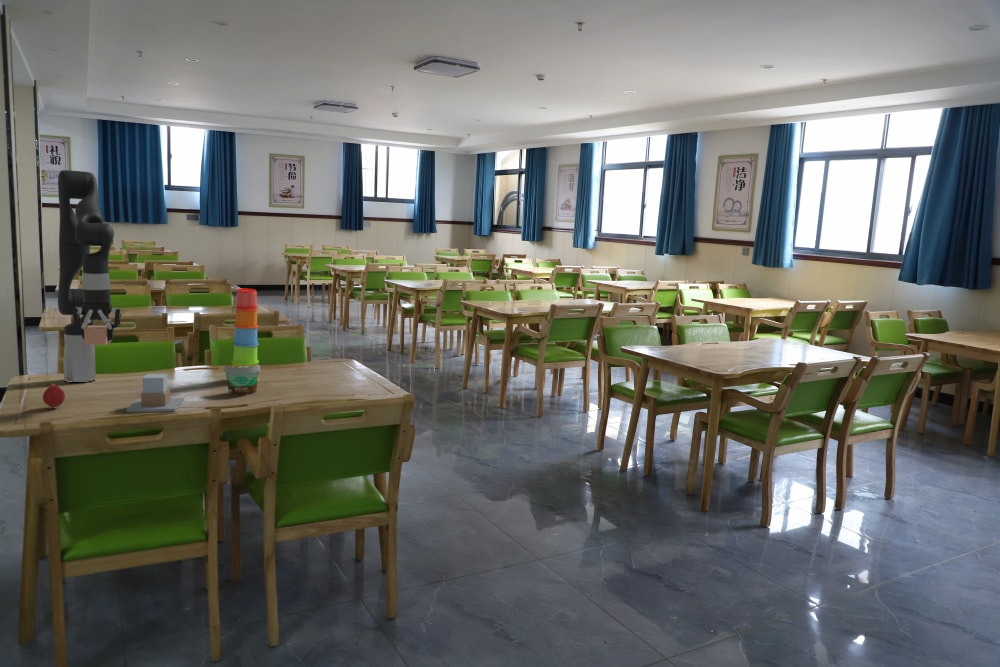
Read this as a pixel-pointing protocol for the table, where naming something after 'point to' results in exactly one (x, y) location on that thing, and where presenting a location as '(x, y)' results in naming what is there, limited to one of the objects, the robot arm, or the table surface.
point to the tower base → (155, 408)
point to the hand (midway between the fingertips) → (98, 340)
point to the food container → (242, 379)
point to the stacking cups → (246, 329)
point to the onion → (53, 396)
